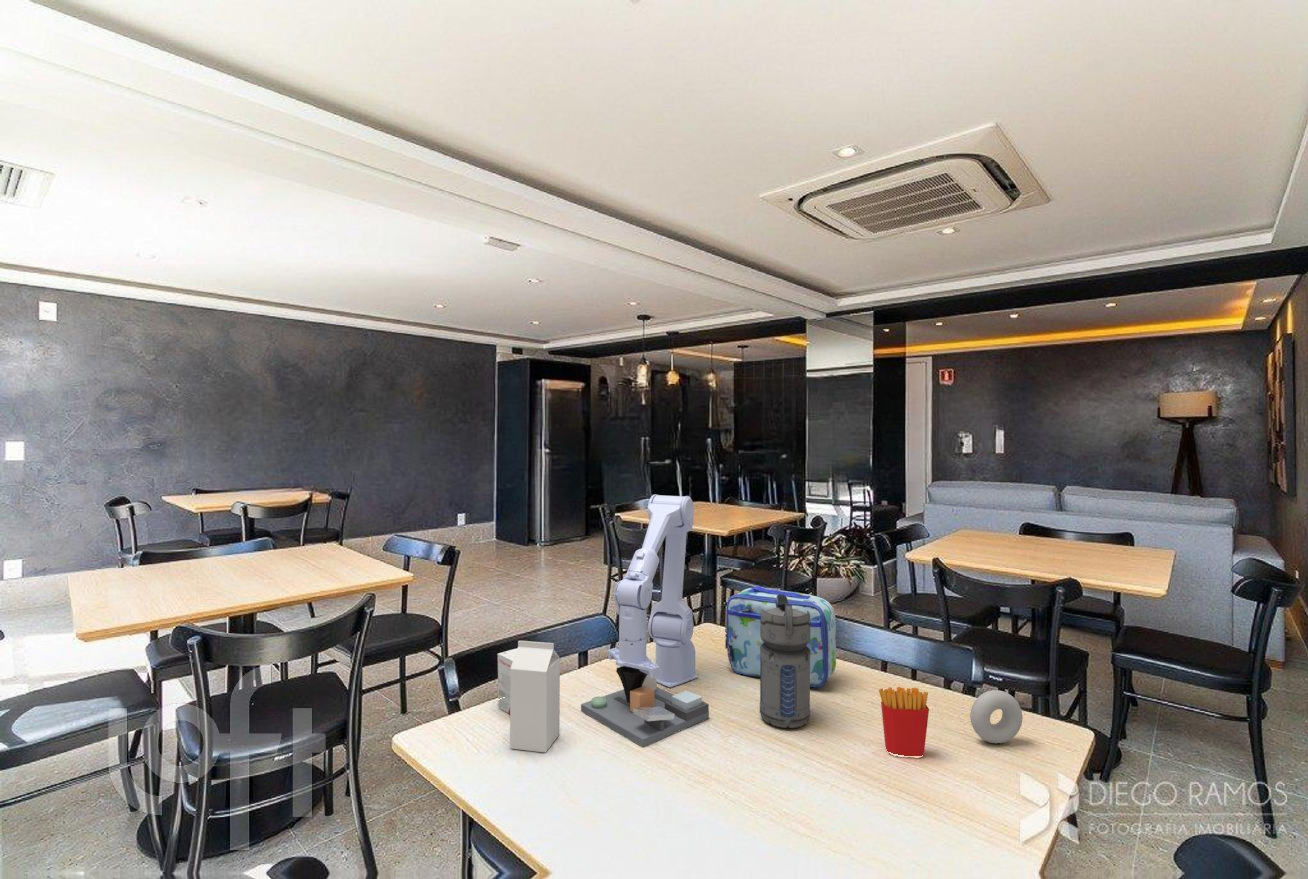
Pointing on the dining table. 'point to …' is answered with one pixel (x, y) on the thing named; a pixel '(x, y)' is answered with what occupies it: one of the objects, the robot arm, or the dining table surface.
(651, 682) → the ivory slider
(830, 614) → the lunch box
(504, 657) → the ink box
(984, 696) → the donut
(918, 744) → the french fries
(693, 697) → the grey button
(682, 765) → the dining table surface
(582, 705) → the control board
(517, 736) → the milk carton
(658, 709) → the aluminium rocker
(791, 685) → the beverage bottle
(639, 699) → the terracotta slider
